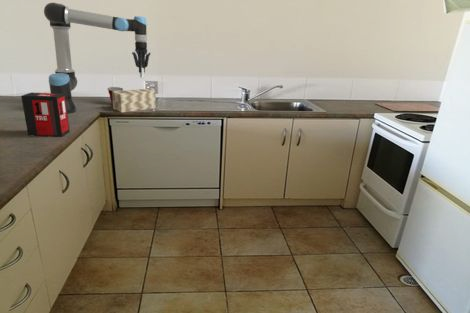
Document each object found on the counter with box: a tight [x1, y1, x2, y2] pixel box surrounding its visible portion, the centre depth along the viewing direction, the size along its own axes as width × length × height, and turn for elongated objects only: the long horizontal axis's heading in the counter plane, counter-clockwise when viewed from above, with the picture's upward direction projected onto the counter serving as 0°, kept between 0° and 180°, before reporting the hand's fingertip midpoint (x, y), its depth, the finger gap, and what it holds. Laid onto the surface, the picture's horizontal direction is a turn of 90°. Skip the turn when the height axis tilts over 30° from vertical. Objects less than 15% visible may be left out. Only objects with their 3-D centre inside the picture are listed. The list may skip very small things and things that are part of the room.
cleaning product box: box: [20, 92, 71, 138], centre depth 167 cm, size 16×9×20 cm, turn 92°
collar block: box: [112, 88, 157, 113], centre depth 231 cm, size 26×12×12 cm, turn 134°
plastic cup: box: [106, 86, 124, 106], centre depth 240 cm, size 11×11×12 cm
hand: (142, 77), depth 231 cm, fingers closed
